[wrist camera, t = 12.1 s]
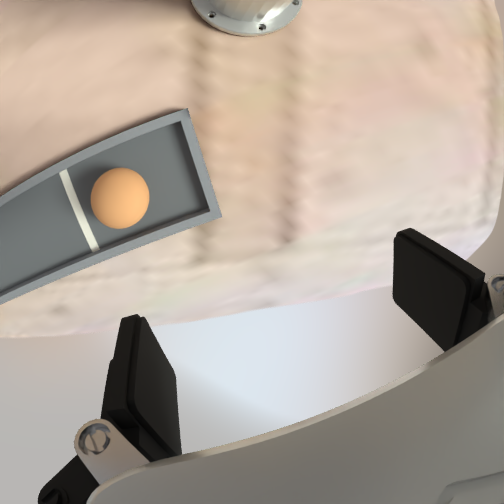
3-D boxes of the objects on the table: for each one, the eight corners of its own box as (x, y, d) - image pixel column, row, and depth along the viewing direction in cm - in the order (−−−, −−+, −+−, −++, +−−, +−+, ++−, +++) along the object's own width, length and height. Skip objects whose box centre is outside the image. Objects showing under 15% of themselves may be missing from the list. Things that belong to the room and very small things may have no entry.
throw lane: (-43, 228, 26) (-50, 233, 24) (187, 109, 29) (187, 108, 27) (-6, 303, 31) (-12, 309, 29) (220, 212, 34) (222, 216, 32)
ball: (91, 176, 29) (73, 188, 24) (141, 155, 29) (131, 162, 24) (111, 225, 32) (98, 246, 26) (160, 207, 32) (155, 224, 27)
